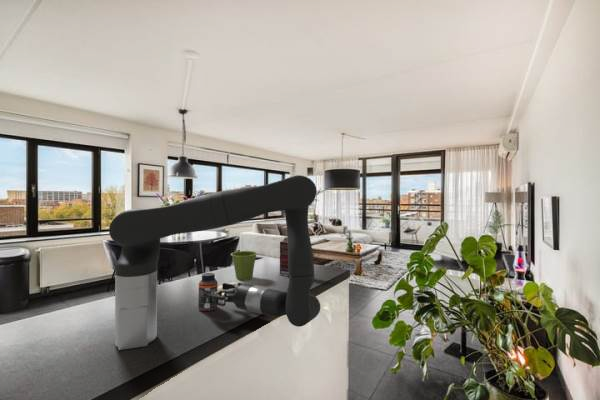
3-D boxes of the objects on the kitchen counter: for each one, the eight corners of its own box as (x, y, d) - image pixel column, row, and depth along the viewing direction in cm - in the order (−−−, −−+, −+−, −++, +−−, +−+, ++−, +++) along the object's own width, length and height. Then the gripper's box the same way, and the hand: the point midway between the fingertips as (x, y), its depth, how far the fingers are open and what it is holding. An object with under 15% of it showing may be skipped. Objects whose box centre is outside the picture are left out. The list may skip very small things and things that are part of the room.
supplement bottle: (211, 312, 91) (211, 277, 91) (194, 311, 92) (194, 275, 92) (220, 305, 97) (220, 272, 97) (204, 304, 98) (204, 271, 98)
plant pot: (239, 273, 138) (239, 250, 138) (261, 276, 134) (261, 251, 134) (225, 280, 127) (225, 254, 126) (249, 283, 123) (249, 256, 123)
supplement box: (300, 275, 135) (300, 241, 135) (294, 278, 131) (294, 243, 131) (284, 273, 140) (285, 240, 140) (279, 275, 136) (279, 241, 136)
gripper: (268, 279, 92) (228, 273, 99) (238, 292, 79) (196, 283, 87) (267, 303, 92) (228, 294, 99) (238, 319, 79) (196, 308, 87)
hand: (213, 289), depth 93 cm, fingers open, 8 cm apart
